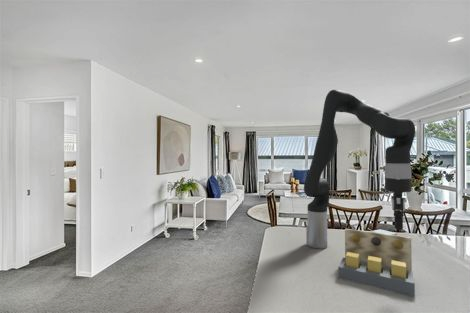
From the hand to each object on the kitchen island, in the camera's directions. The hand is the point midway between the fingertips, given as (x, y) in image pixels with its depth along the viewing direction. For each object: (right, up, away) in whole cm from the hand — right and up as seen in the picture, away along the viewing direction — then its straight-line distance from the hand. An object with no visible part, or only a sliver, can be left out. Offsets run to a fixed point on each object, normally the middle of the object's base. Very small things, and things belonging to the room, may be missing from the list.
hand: (398, 226), depth 82 cm
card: (0, -20, +13) cm, 24 cm away
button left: (-12, -18, +7) cm, 22 cm away
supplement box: (+6, -20, +18) cm, 28 cm away
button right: (0, -17, 0) cm, 17 cm away
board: (-6, -20, +3) cm, 21 cm away
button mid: (-6, -17, +3) cm, 19 cm away
